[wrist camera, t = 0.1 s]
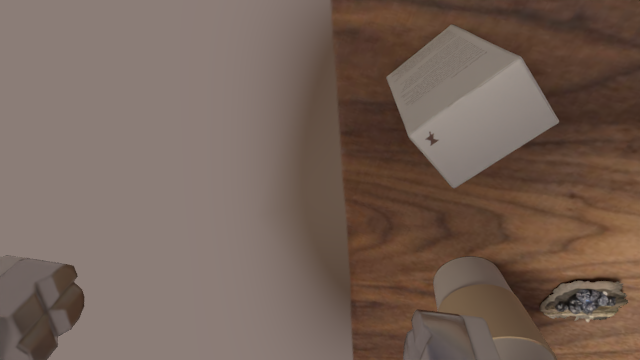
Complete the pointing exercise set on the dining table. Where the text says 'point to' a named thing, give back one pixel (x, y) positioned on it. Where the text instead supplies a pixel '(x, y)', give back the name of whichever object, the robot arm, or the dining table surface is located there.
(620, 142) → the dining table surface
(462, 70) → the cosmetic box
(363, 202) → the dining table surface
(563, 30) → the dining table surface
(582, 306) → the blueberries
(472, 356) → the robot arm
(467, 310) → the coffee cup
